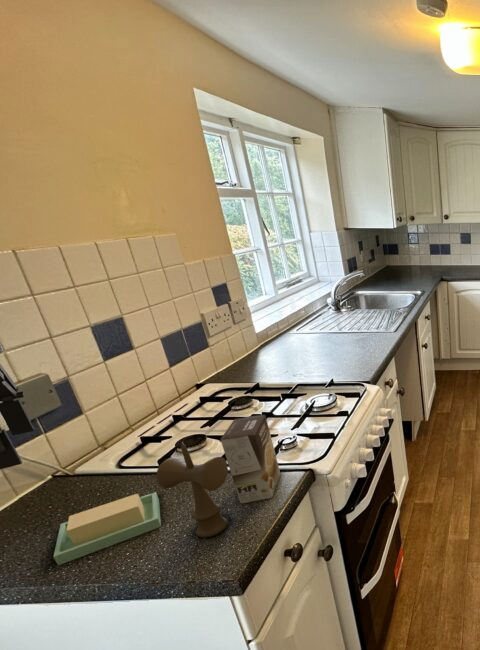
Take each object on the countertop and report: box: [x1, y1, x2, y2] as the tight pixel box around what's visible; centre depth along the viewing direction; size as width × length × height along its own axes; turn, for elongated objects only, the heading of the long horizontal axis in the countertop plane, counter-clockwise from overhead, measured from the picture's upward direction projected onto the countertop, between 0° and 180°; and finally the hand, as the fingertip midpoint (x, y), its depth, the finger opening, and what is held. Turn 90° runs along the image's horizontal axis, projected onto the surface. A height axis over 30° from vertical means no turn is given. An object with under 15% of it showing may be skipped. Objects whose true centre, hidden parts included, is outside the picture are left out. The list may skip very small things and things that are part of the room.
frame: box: [53, 491, 162, 566], centre depth 80 cm, size 14×10×2 cm
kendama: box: [156, 442, 229, 538], centre depth 77 cm, size 6×10×20 cm, turn 88°
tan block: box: [66, 493, 145, 547], centre depth 80 cm, size 10×5×4 cm, turn 131°
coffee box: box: [219, 414, 281, 504], centre depth 89 cm, size 9×6×16 cm
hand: (17, 448), depth 73 cm, fingers open, 13 cm apart
